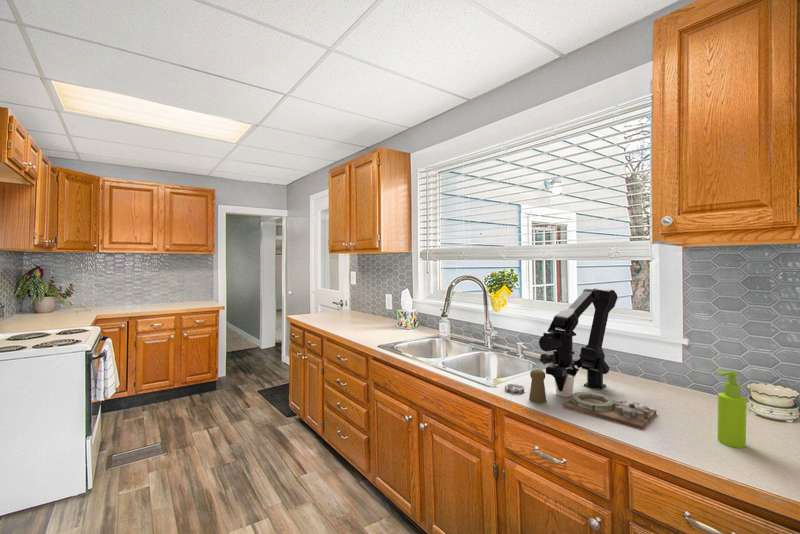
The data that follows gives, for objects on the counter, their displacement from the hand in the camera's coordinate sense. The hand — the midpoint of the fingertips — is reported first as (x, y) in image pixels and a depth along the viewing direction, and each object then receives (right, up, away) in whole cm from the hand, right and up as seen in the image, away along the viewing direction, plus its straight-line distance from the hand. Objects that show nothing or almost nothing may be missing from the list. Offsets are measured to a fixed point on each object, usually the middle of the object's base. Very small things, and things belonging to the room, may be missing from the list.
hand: (564, 389), depth 143 cm
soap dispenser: (+29, -3, -38) cm, 48 cm away
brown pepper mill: (-12, -2, -6) cm, 14 cm away
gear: (-18, -2, +4) cm, 18 cm away
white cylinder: (0, -2, 0) cm, 2 cm away
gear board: (+8, -2, -16) cm, 18 cm away
